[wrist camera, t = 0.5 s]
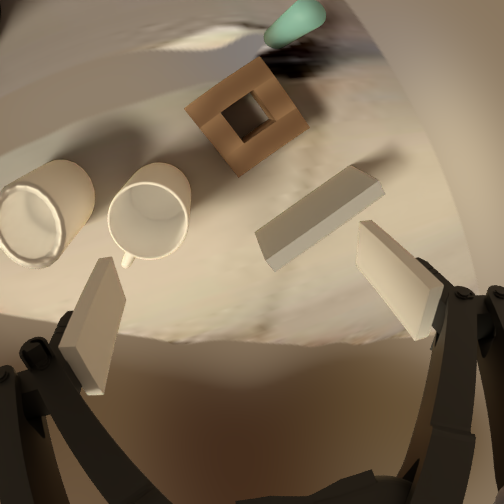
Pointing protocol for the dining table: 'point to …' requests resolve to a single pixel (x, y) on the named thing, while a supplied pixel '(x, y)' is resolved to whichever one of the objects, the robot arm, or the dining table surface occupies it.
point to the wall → (317, 216)
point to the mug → (44, 212)
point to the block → (261, 138)
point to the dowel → (295, 23)
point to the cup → (151, 213)
